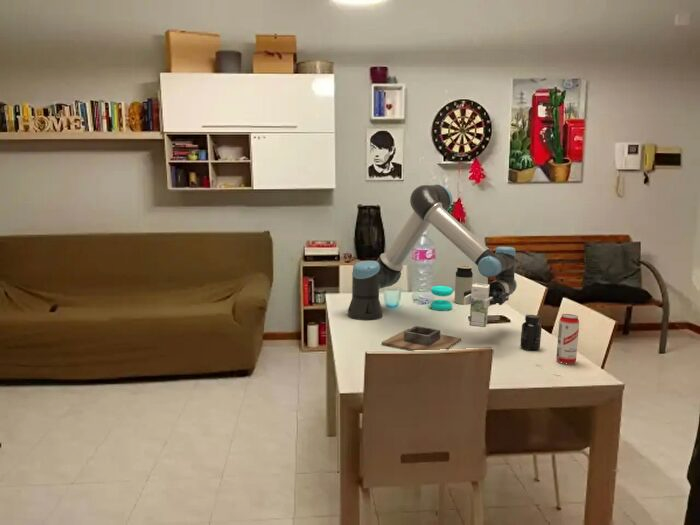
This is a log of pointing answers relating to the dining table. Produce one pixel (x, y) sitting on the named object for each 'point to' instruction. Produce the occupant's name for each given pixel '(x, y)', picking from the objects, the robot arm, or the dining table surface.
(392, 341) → the collar board
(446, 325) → the dining table surface
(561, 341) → the beer can
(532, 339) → the supplement bottle
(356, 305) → the robot arm
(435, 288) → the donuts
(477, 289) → the syrup box
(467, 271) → the travel mug
